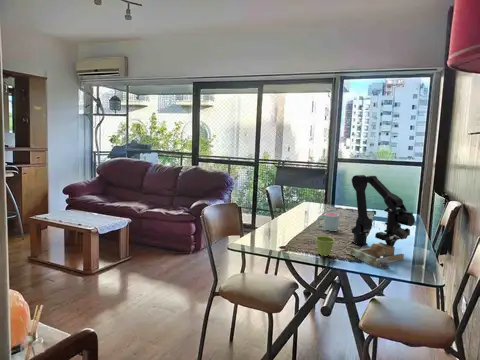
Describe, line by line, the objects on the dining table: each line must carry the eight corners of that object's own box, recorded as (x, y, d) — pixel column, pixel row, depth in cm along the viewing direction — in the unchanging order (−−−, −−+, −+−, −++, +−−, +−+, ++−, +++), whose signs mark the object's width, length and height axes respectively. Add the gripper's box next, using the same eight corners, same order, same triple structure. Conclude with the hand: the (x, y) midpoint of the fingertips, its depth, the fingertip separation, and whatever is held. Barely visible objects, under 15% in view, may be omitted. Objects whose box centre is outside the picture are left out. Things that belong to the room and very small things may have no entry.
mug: (336, 228, 241) (337, 213, 239) (339, 232, 232) (340, 216, 230) (315, 226, 242) (316, 212, 241) (317, 230, 233) (318, 215, 231)
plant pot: (330, 252, 194) (331, 236, 192) (335, 258, 184) (336, 242, 183) (312, 251, 193) (314, 235, 192) (317, 258, 184) (318, 241, 183)
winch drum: (376, 266, 176) (378, 252, 175) (382, 265, 178) (383, 250, 177) (383, 269, 172) (384, 254, 171) (389, 268, 174) (390, 253, 173)
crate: (370, 254, 191) (371, 244, 190) (381, 252, 195) (382, 242, 194) (383, 259, 184) (384, 248, 184) (393, 257, 188) (394, 246, 187)
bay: (350, 255, 189) (350, 248, 188) (379, 250, 200) (380, 243, 199) (373, 265, 176) (374, 258, 176) (403, 259, 187) (404, 251, 186)
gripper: (394, 227, 178) (391, 258, 181) (418, 223, 188) (415, 252, 190) (375, 221, 188) (373, 250, 190) (399, 218, 197) (396, 246, 200)
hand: (390, 250), depth 192 cm, fingers closed
